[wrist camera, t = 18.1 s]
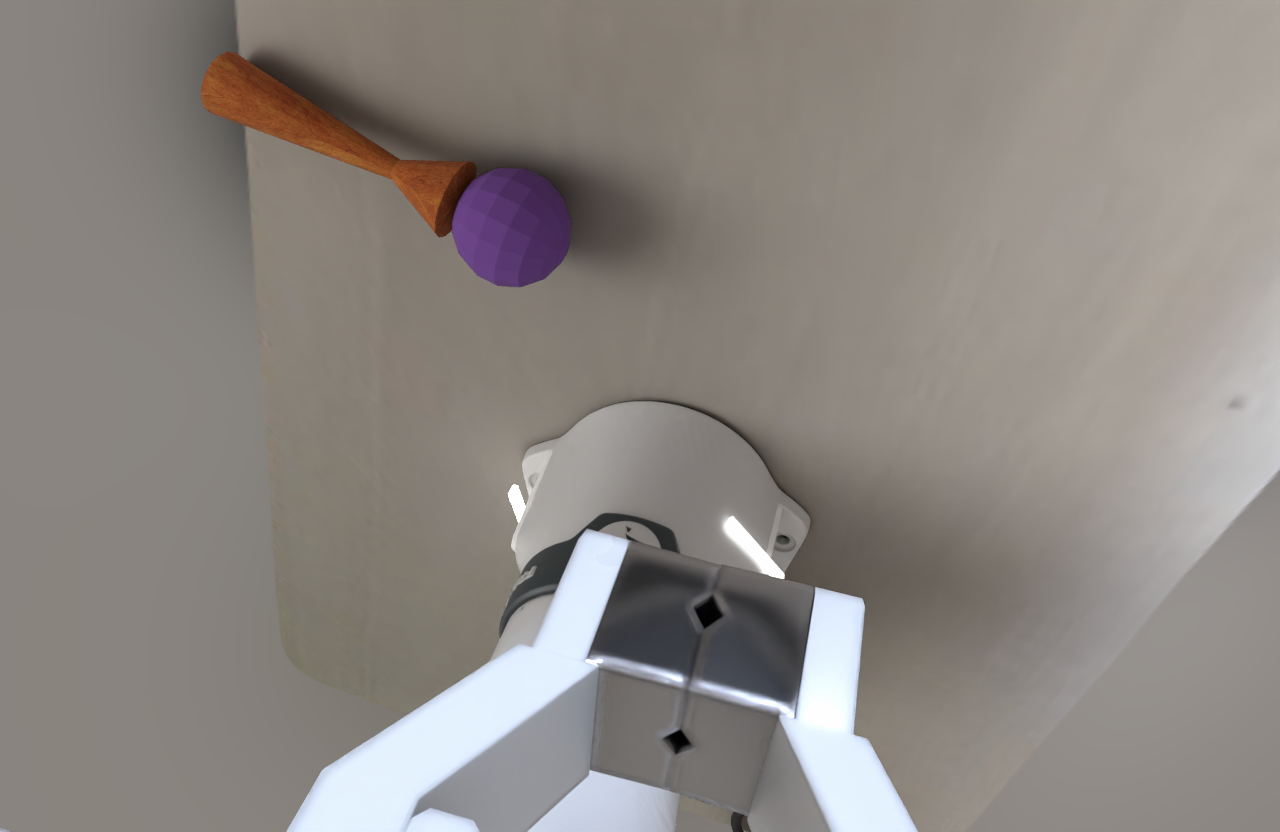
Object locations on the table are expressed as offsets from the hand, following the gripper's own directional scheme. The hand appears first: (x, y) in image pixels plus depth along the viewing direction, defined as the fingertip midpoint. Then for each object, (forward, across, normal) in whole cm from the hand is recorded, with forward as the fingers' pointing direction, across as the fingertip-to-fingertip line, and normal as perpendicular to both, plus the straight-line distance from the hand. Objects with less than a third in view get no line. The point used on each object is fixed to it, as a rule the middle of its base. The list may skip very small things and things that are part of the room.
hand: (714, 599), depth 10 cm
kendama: (+37, +22, +14) cm, 46 cm away
